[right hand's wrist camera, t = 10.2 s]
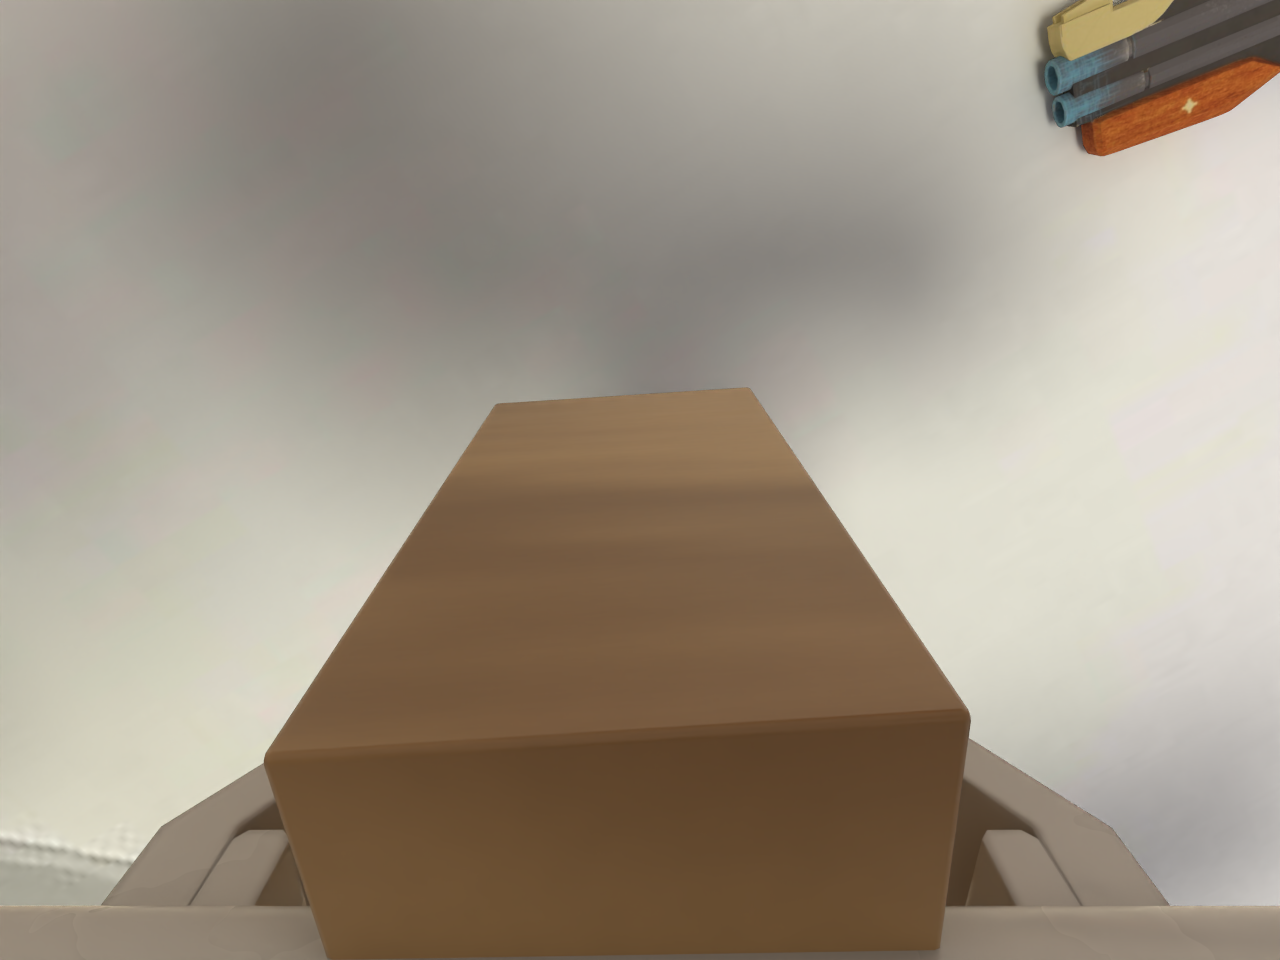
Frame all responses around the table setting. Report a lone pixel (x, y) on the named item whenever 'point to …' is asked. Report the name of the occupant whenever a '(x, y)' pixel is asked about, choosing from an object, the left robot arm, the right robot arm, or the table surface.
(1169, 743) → the table surface
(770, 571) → the bar
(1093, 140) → the toy gun
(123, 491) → the table surface
